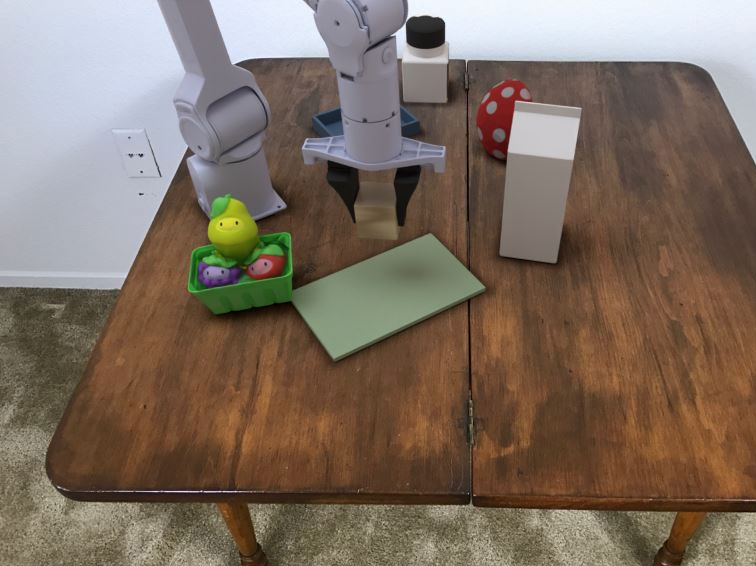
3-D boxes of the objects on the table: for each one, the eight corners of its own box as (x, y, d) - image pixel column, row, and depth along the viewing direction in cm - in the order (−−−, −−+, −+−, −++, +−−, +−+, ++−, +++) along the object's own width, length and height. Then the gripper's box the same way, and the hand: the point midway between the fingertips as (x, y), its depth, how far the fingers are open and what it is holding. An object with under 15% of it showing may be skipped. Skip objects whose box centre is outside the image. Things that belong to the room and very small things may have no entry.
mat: (334, 362, 73) (333, 358, 72) (287, 296, 79) (286, 292, 79) (485, 291, 80) (485, 287, 80) (430, 236, 87) (430, 232, 86)
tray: (343, 161, 98) (342, 146, 96) (313, 130, 103) (311, 115, 102) (420, 134, 103) (419, 120, 101) (387, 106, 108) (386, 92, 106)
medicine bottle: (447, 104, 109) (448, 29, 100) (403, 104, 109) (400, 28, 100) (448, 82, 113) (449, 9, 104) (406, 82, 113) (403, 8, 105)
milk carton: (556, 264, 83) (579, 126, 69) (499, 256, 84) (510, 118, 70) (561, 228, 88) (584, 92, 74) (507, 221, 89) (519, 85, 75)
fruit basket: (202, 325, 76) (164, 249, 68) (206, 272, 82) (172, 197, 74) (303, 307, 77) (278, 230, 69) (300, 257, 83) (277, 180, 75)
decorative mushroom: (587, 78, 97) (498, 56, 90) (595, 150, 95) (505, 134, 88) (542, 115, 107) (458, 98, 100) (549, 181, 105) (464, 168, 98)
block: (357, 237, 75) (353, 205, 72) (364, 213, 78) (361, 181, 75) (397, 240, 75) (394, 208, 72) (402, 215, 78) (400, 183, 74)
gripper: (448, 90, 68) (448, 201, 78) (306, 83, 69) (324, 193, 79) (441, 128, 63) (442, 241, 73) (288, 120, 64) (310, 232, 74)
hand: (380, 219), depth 76 cm, fingers closed on block, 4 cm apart
